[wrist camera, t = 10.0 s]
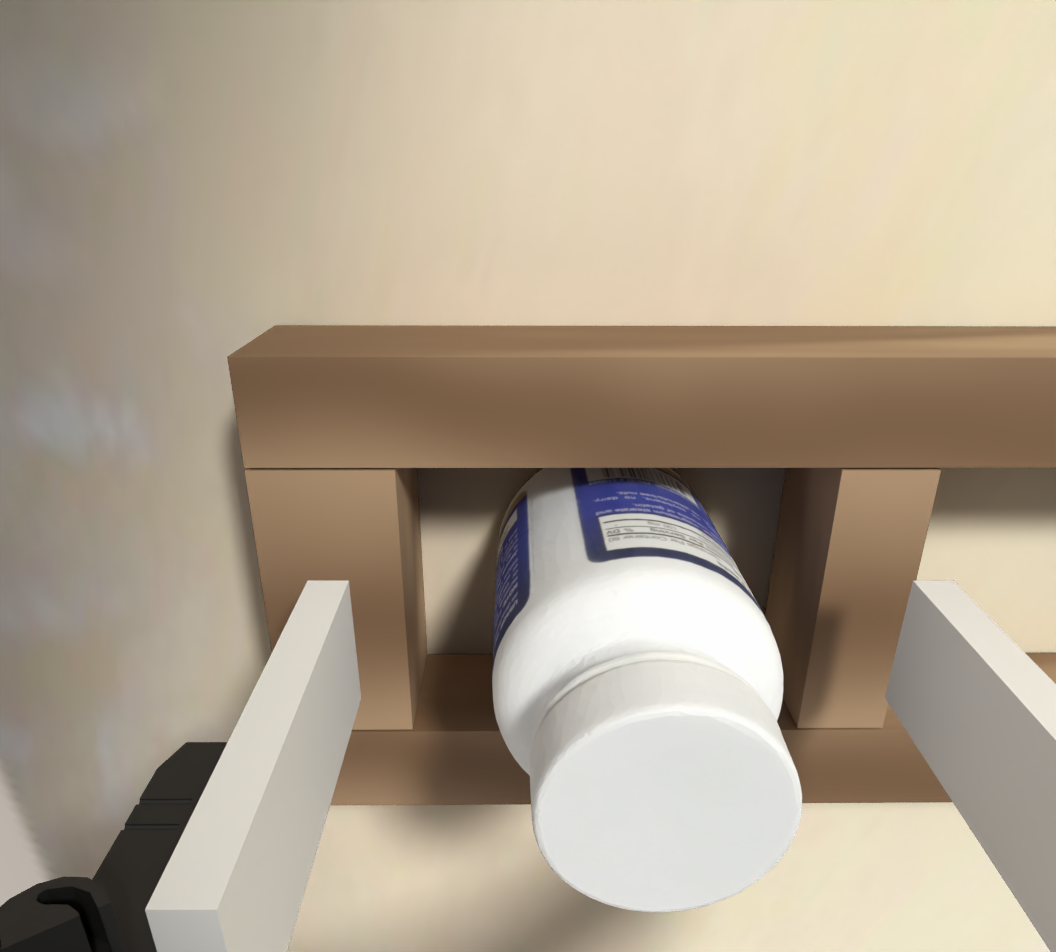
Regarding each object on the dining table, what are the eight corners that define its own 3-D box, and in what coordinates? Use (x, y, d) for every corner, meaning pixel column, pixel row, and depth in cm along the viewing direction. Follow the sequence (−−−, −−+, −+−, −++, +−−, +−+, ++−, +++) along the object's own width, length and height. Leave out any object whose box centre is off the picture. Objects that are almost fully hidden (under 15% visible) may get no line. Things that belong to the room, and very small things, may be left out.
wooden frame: (274, 325, 17) (227, 356, 14) (1417, 327, 17) (1589, 358, 14) (324, 721, 21) (295, 805, 18) (1241, 718, 22) (1347, 800, 19)
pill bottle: (579, 661, 21) (618, 991, 12) (456, 525, 19) (407, 800, 11) (746, 555, 19) (912, 842, 11) (630, 400, 18) (723, 601, 10)
